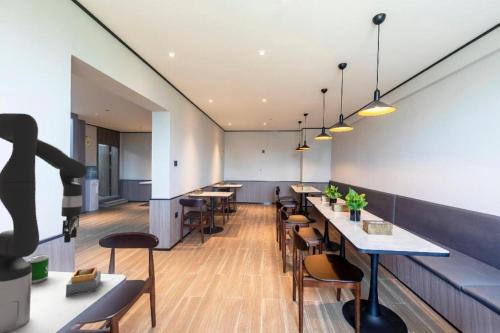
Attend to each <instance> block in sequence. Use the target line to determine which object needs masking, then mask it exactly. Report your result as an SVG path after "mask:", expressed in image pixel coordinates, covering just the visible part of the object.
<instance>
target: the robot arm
mask: <svg viewBox="0 0 500 333" xmlns="http://www.w3.org/2000/svg"><path fill="white" fill-rule="evenodd" d="M38 136H39V126H38V123H37V121H36V119H35V117H33V116H32V115H30V114H28V113H11V112H10V113H9V112H8V113H7V112H6V113H5V112H3V113H0V139H2V140H4V141H6V142H8V143H10V144H12V151H11V155H10V157H9V159H8V160H7V161H6V163H5V165H4V166H3V168H2V169H1V170H0V202H1V204H2V205H3V207H4V208H5V209H6V211H7V212H8V214H9V215H10V217H11V219H12V224H13V225H12V226H13V228H12V229H8V230H5V231H2V232H0V333H9V332H13V331H17V330H18V329H19V328H20V327H22V326H24V325H25V324H27V323H28V322H29V320H30V318H31V293H32V283H31V277H32V265H31V264H30V263H29V262H28V261H26V260H25V259H24V258H26V257H29V256H31V255H32V254H34V253H35V252H36V250H37V248H38V246H39V244H40V233H39V232H40V231H39V226H38V225H39V224H38V220H37V219H38V218H37V203H36V191H37V190H36V182H37V181H36V180H37V179H36V157H37V158H39V159H41V160H43V161H44V162H46V163H47V164H49V165H50V166H51V167H53V168H55V169H57V170H59V173H58V174H59V178H60V181H61V185H62V187H63V189H62V199H61V216H62V217H63V218H65V220H64V219H63V221H62V230H61V234H62V235H64V238H63V239H64V240H63V243H65V244H68V243H70V242H72V241H71V240H72V238H73V239H76V238H77V236H78V235H77V234H78V229H79V227H80V216H82V212H83V210H82V209H83V185H82V184H80V183H78V182H76V181H75V179H82V178H84V177H86V176H87V175H88V168H87V167H86V165H85V164H84V163H83V162H81V161H78V160H77V159H75V158H73V157H70V156H68V154H66V153H65V152H64V151H62V150H61V149H60V148H58V147H56V146H54V145H52V144H50V143H47V142H46V141H43V140H41V139H39V137H38Z"/></svg>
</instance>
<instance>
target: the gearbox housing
mask: <svg viewBox="0 0 500 333" xmlns="http://www.w3.org/2000/svg"><path fill="white" fill-rule="evenodd" d="M84 269H85V268H81V269H76V270H75V271H74V273H73V274H72V276H71V278H70V279H69V281H68V282H67V283H66V285H65V287H66V288H65V297H73V296H78V295H81V294H82V295H83V294H88V293H89V294H90V293H93V292H97V289H98V287H99V285H100V282H101V278H102V271H101V270H98V267H90V268H89V267H88V268H86V269H91V274H87V275H80V276H79V272H80V271H81V270H84Z"/></svg>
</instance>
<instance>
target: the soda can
mask: <svg viewBox="0 0 500 333" xmlns="http://www.w3.org/2000/svg"><path fill="white" fill-rule="evenodd" d="M49 258H50V257H49V255H47V254H44V253H43V254H36V255H32V256H31V257H30V258H29V259H28V261H27V262H29V263H30V264H31V265H32V277H31V284H39V283H41V282H44V281H45V280H46V279H47V278H48V277H49V260H50V259H49Z"/></svg>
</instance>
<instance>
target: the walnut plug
mask: <svg viewBox="0 0 500 333" xmlns="http://www.w3.org/2000/svg"><path fill="white" fill-rule="evenodd" d="M83 269H84V270H81V271H80V272H79V276H80V275H87V274H91V269H87V268H83Z"/></svg>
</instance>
